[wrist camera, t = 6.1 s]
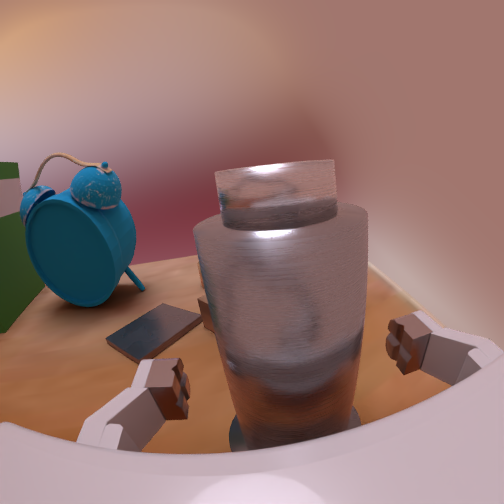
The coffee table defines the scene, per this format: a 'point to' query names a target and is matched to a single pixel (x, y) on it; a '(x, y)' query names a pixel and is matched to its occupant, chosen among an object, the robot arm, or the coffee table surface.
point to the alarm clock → (80, 234)
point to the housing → (286, 300)
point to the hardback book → (14, 251)
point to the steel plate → (153, 332)
